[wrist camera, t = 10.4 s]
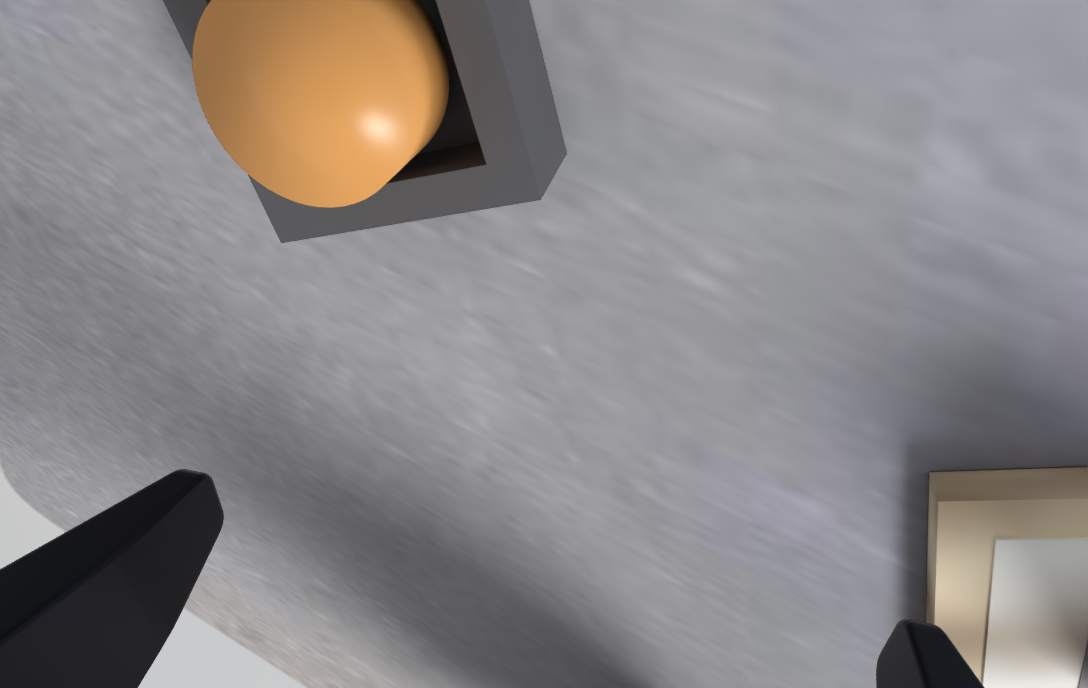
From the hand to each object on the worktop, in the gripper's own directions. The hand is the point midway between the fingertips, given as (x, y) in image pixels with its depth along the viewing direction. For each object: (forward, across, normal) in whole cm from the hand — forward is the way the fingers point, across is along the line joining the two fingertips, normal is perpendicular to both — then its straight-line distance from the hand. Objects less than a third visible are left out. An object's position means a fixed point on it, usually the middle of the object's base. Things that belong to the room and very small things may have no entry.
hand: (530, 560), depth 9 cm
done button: (+9, +6, -3) cm, 12 cm away
